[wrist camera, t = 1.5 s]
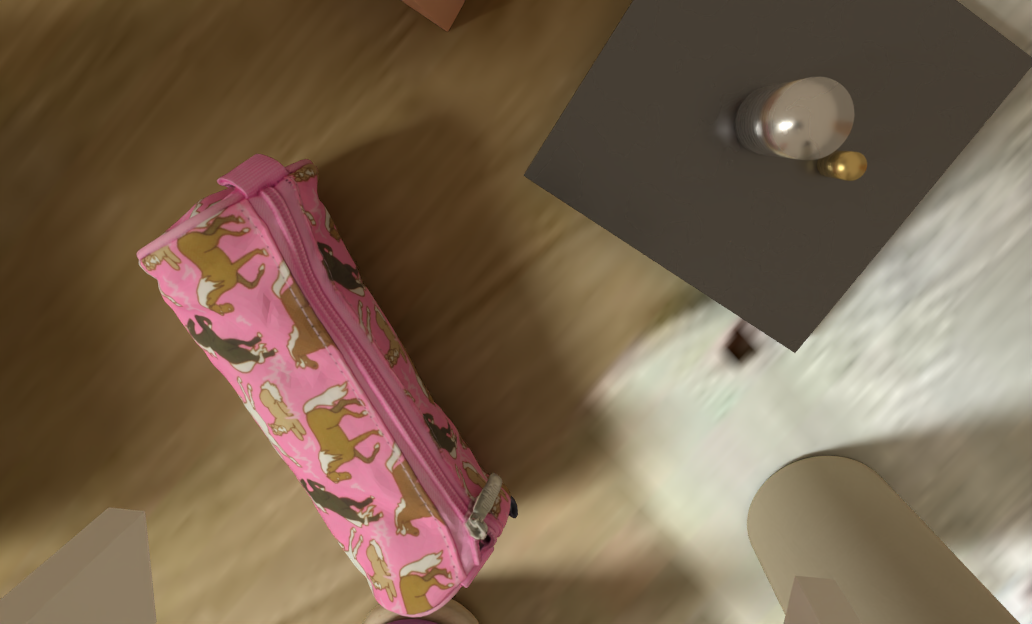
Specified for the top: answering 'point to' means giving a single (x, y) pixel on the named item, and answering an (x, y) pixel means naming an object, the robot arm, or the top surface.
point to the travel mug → (862, 547)
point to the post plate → (774, 202)
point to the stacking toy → (448, 620)
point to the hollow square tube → (437, 10)
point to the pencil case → (330, 383)
